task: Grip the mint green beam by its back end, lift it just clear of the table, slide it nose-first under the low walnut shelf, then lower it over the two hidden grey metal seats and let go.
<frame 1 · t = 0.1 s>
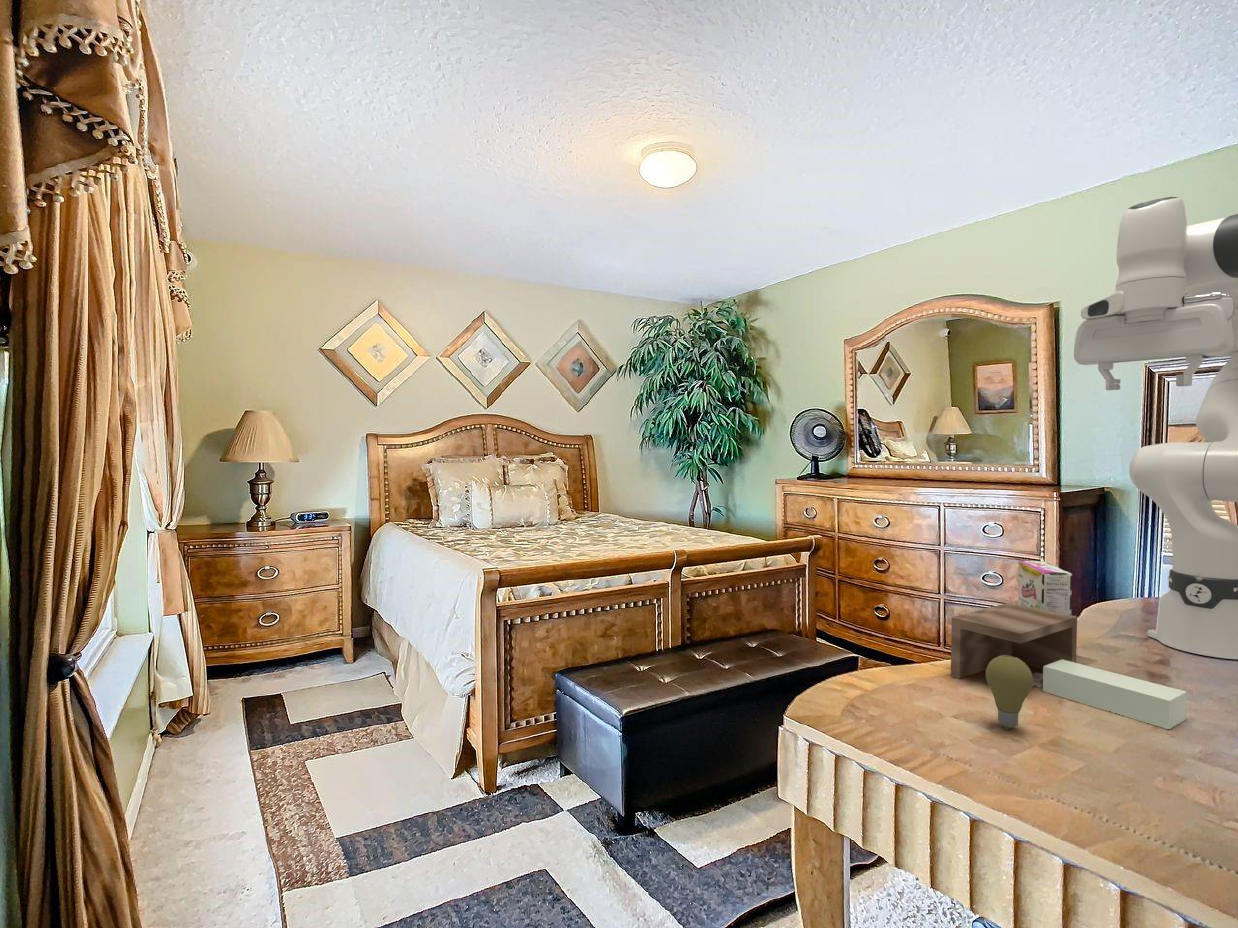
hand: (1147, 388, 106), 48 cm above the table, tool pointing down, fingers open, 8 cm apart
mint green beam: (1110, 704, 98), on the table
candy bar box: (1042, 655, 121), on the table
light bulb: (1007, 729, 90), on the table
walnut shelf: (1052, 687, 105), on the table
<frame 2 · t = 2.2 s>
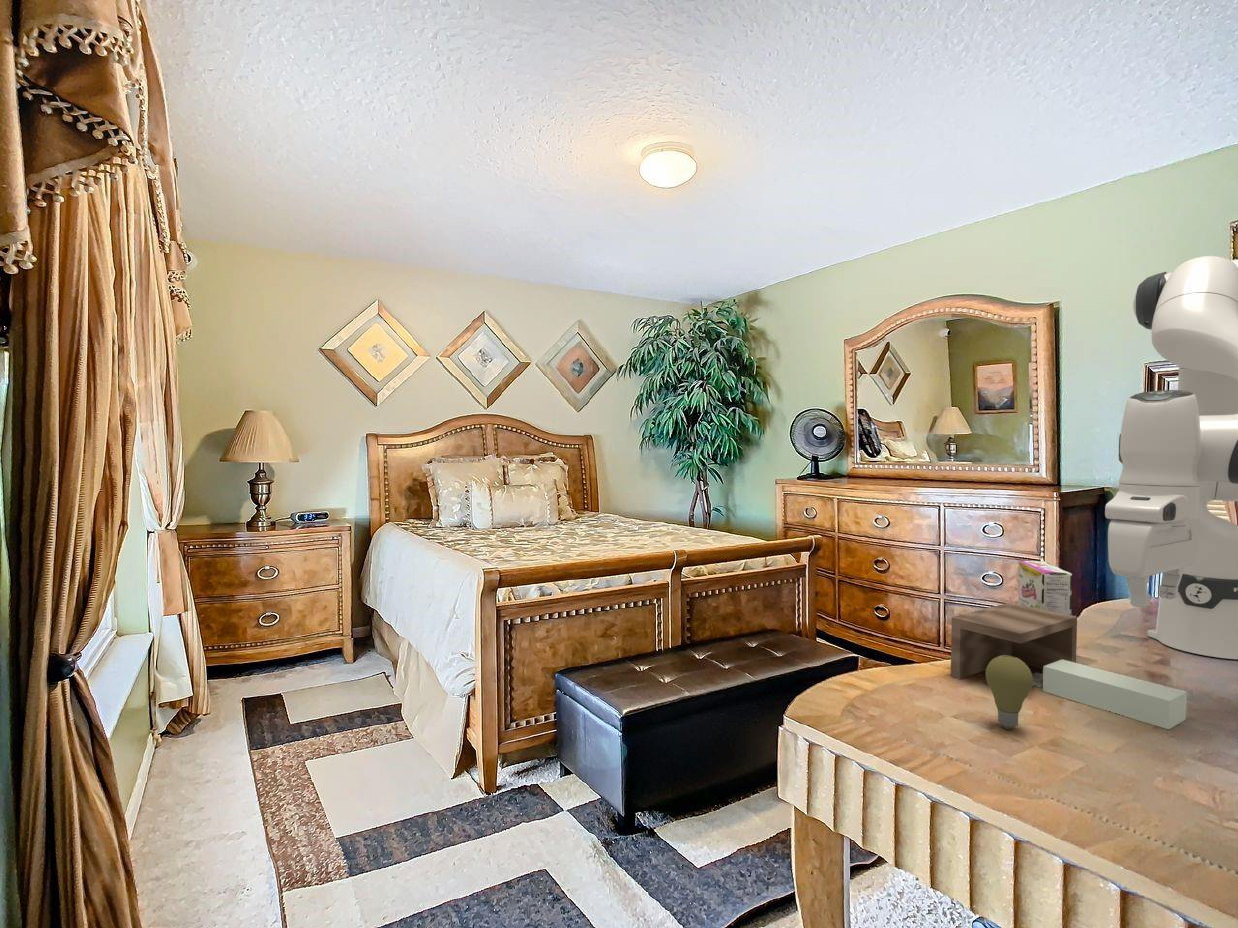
hand: (1154, 602, 93), 17 cm above the table, tool pointing down, fingers open, 8 cm apart
nothing on the table moved.
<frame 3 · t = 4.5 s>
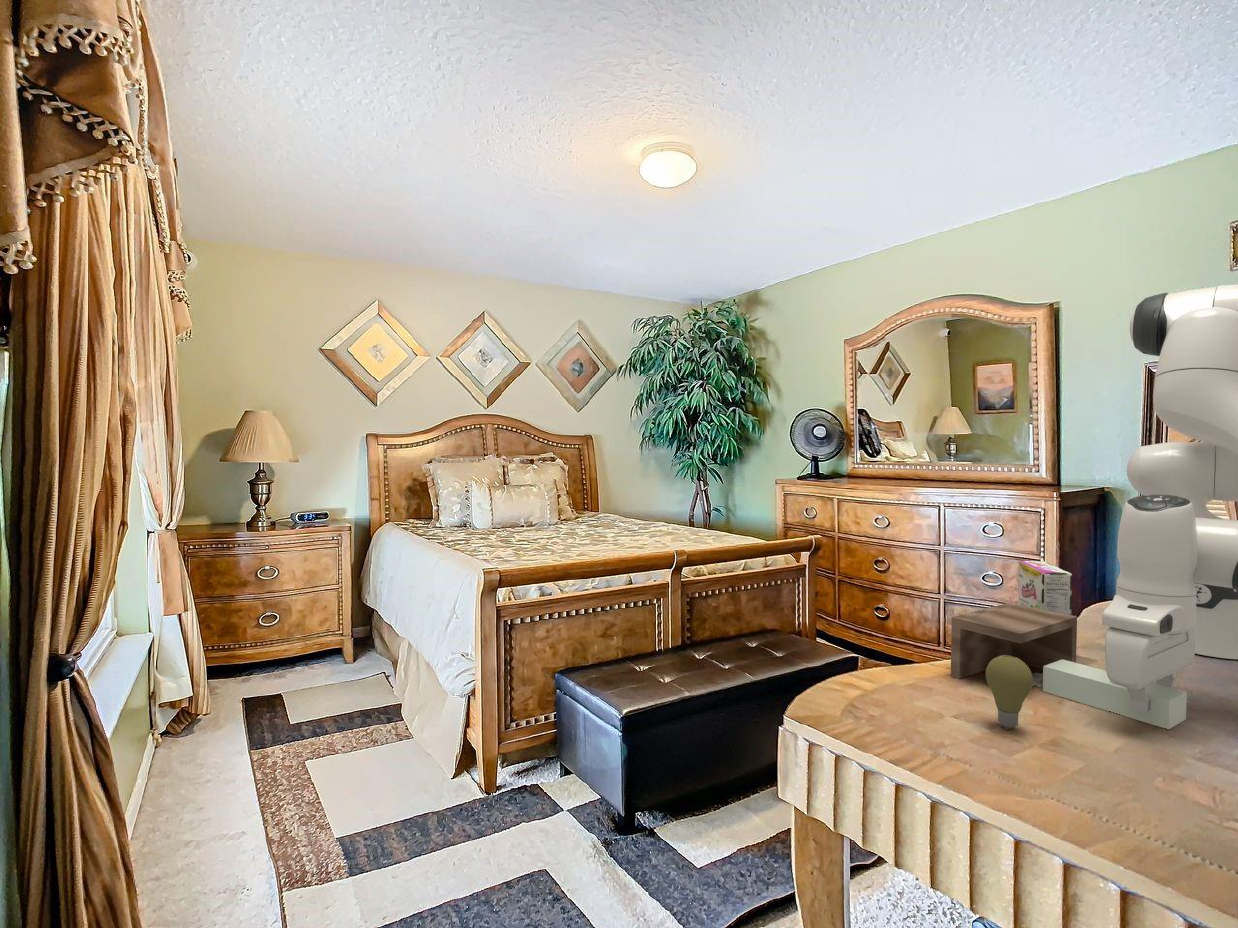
hand: (1151, 705, 93), 2 cm above the table, tool pointing down, fingers closed on mint green beam, 6 cm apart
mint green beam: (1110, 704, 98), on the table, touching gripper
everything else where it was.
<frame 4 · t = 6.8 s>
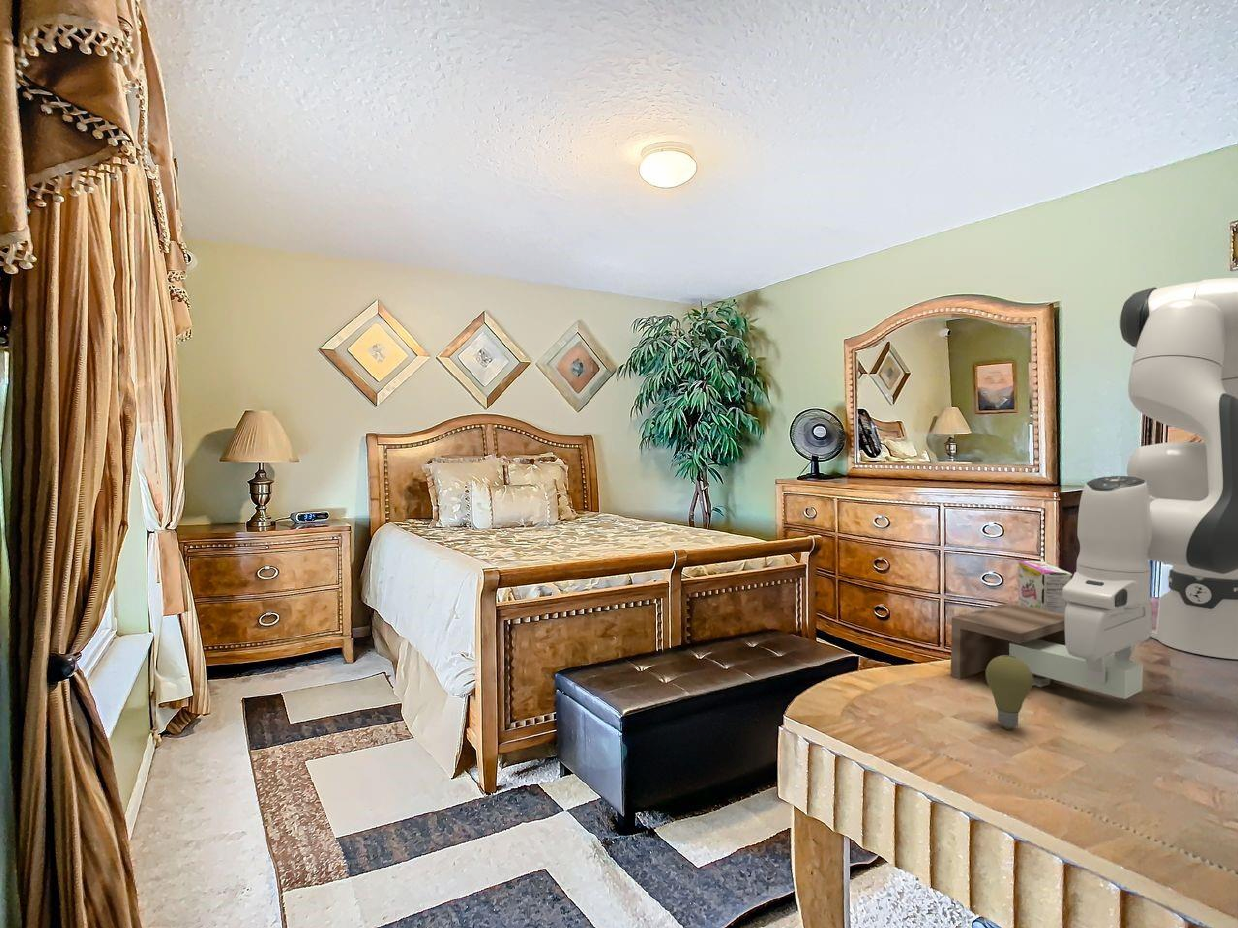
hand: (1109, 677, 98), 4 cm above the table, tool pointing down, fingers closed on mint green beam, 6 cm apart
mint green beam: (1072, 677, 102), point 2 cm above the table, touching gripper
everything else where it was.
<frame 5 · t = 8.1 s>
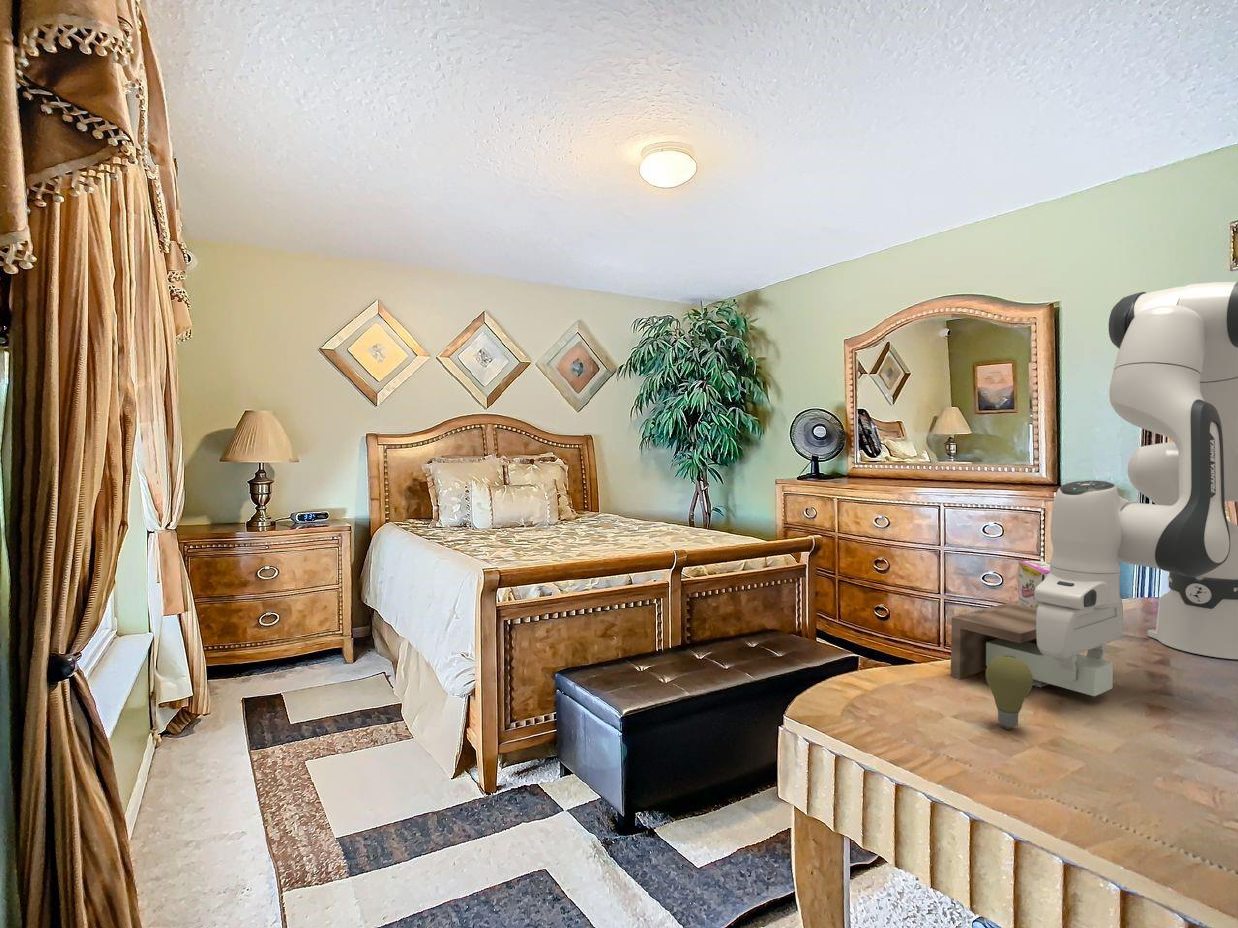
hand: (1081, 675, 101), 3 cm above the table, tool pointing down, fingers closed on mint green beam, 6 cm apart
mint green beam: (1046, 676, 105), point 2 cm above the table, touching gripper
everything else where it was.
when the fingers open (2 cm above the table, at t = 9.1 s): mint green beam stays where it is, on the table.
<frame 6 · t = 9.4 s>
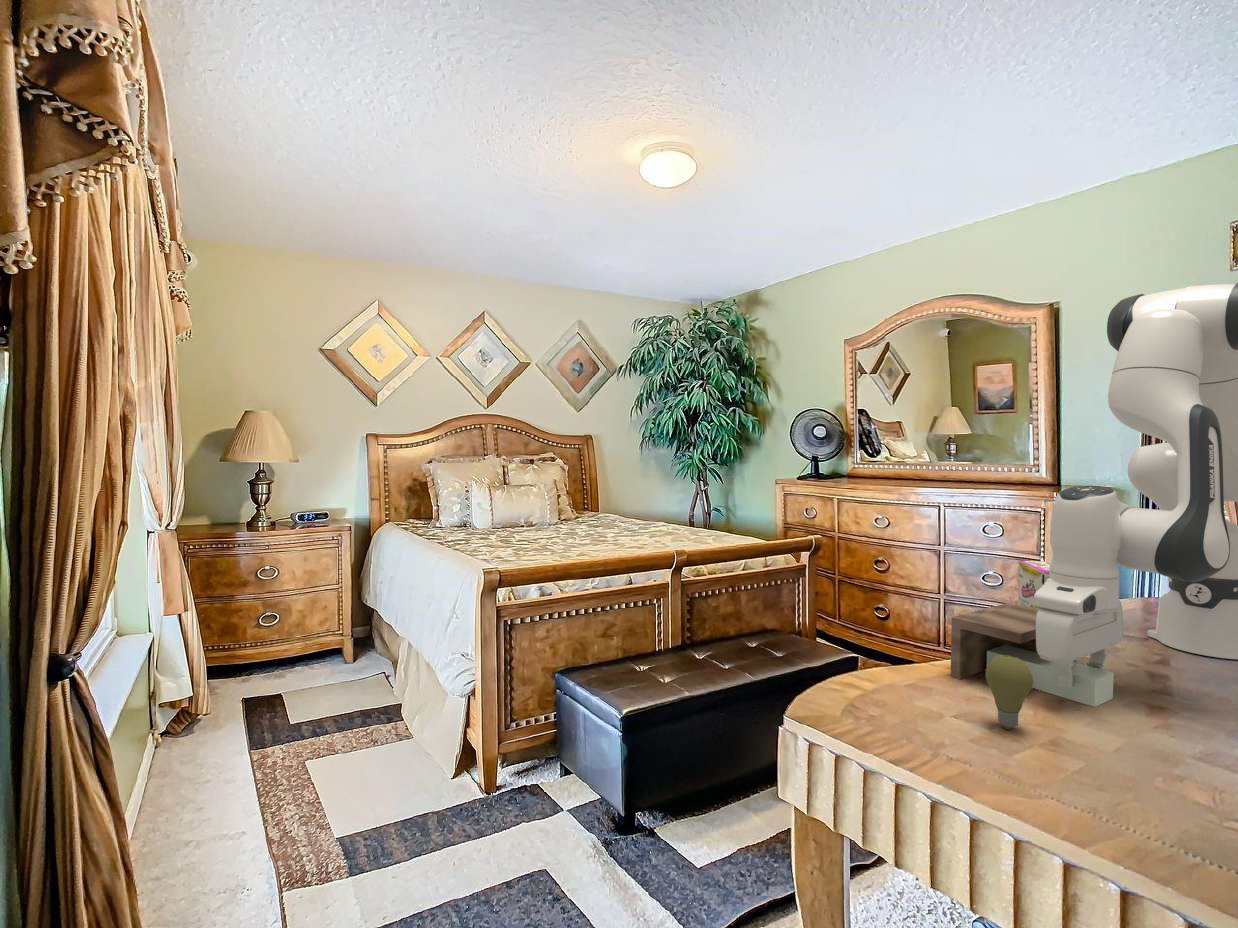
hand: (1080, 680, 101), 2 cm above the table, tool pointing down, fingers open, 8 cm apart
mint green beam: (1046, 685, 105), on the table
everything else where it was.
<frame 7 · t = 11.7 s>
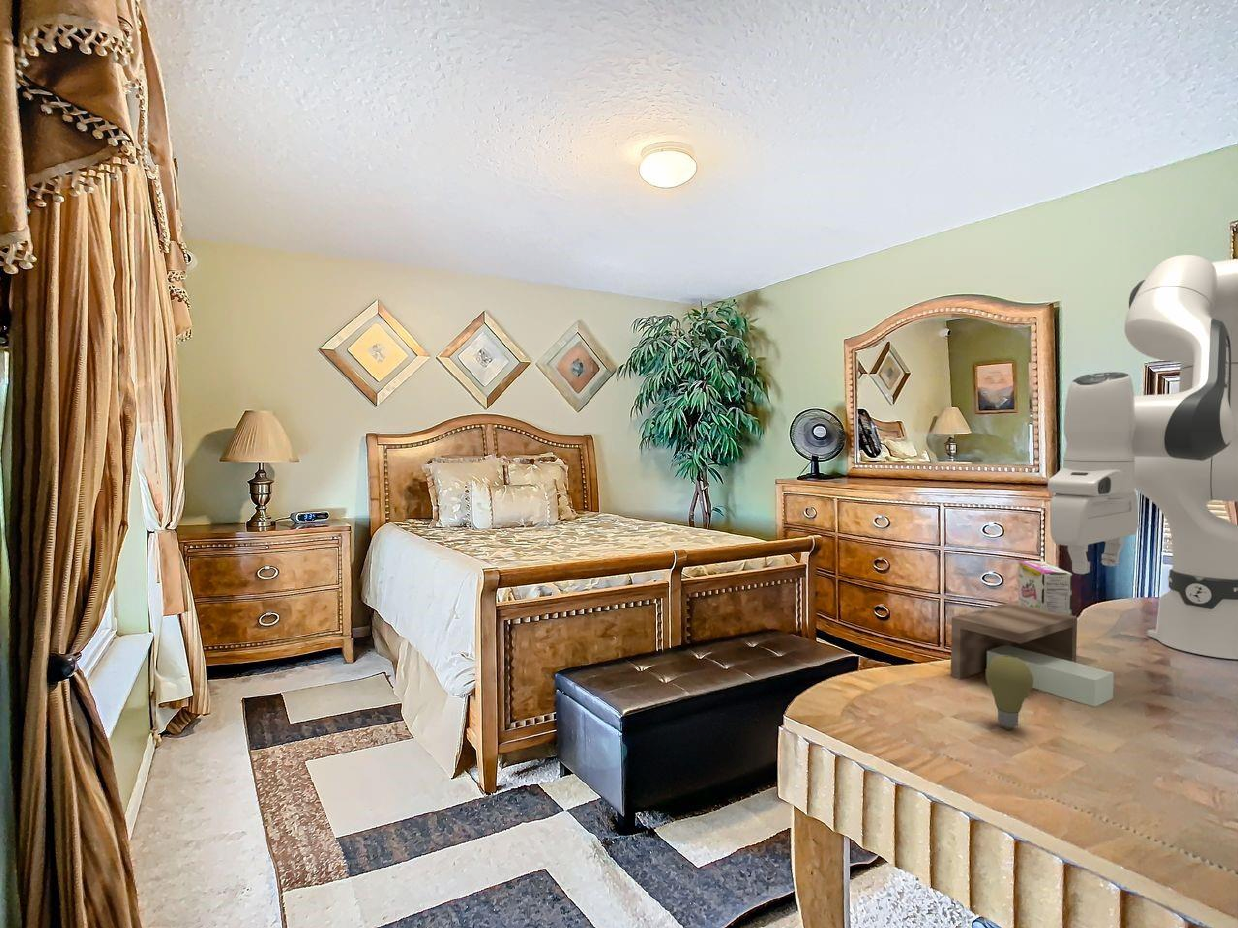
hand: (1095, 569, 100), 20 cm above the table, tool pointing down, fingers open, 8 cm apart
nothing on the table moved.
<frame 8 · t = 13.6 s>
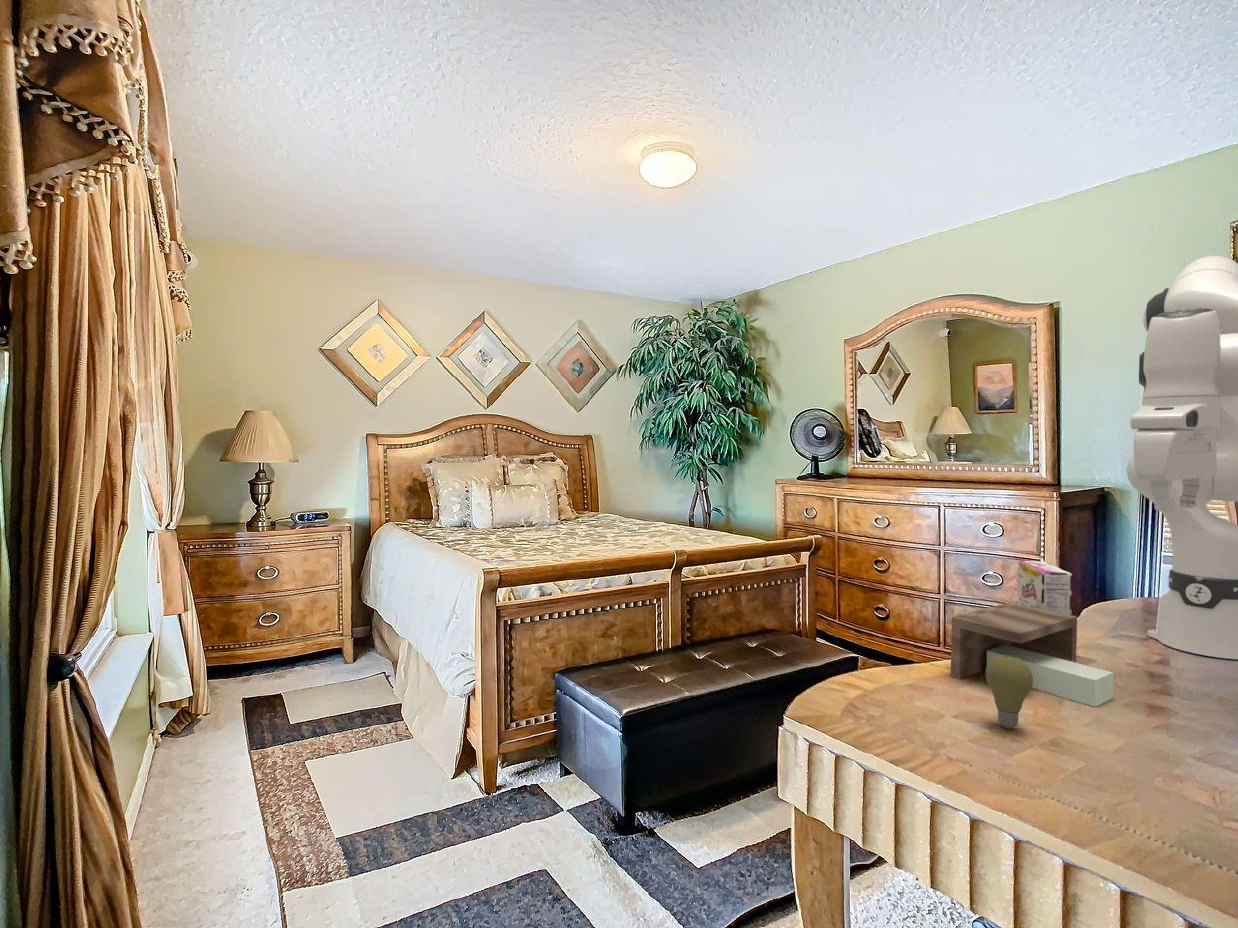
hand: (1176, 509, 99), 29 cm above the table, tool pointing down, fingers open, 8 cm apart
nothing on the table moved.
at the end: mint green beam 0.1 cm from the target spot on the walnut shelf, point 0.0 cm above the walnut shelf's base; mint green beam tilted 0°; the gripper is holding nothing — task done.
